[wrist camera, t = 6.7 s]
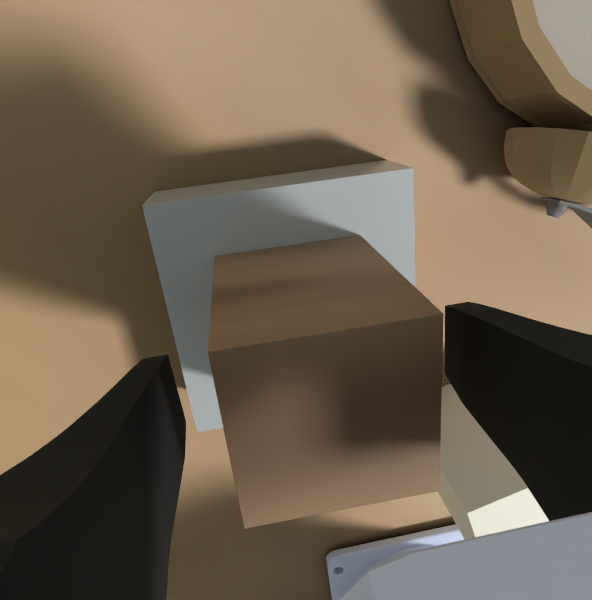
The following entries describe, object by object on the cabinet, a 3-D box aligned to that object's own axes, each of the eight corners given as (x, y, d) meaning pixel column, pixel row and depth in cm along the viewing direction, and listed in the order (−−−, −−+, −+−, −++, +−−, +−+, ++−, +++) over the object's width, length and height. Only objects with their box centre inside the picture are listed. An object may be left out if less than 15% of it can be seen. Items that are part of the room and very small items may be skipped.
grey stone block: (390, 353, 20) (416, 392, 17) (201, 385, 19) (197, 432, 16) (382, 158, 17) (413, 168, 14) (156, 189, 16) (141, 205, 13)
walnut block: (367, 360, 16) (439, 491, 11) (237, 382, 16) (244, 528, 10) (360, 234, 14) (443, 314, 9) (214, 255, 14) (207, 351, 8)
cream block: (516, 437, 22) (614, 547, 16) (428, 475, 22) (495, 595, 17) (497, 362, 20) (599, 457, 15) (401, 403, 20) (467, 513, 15)
